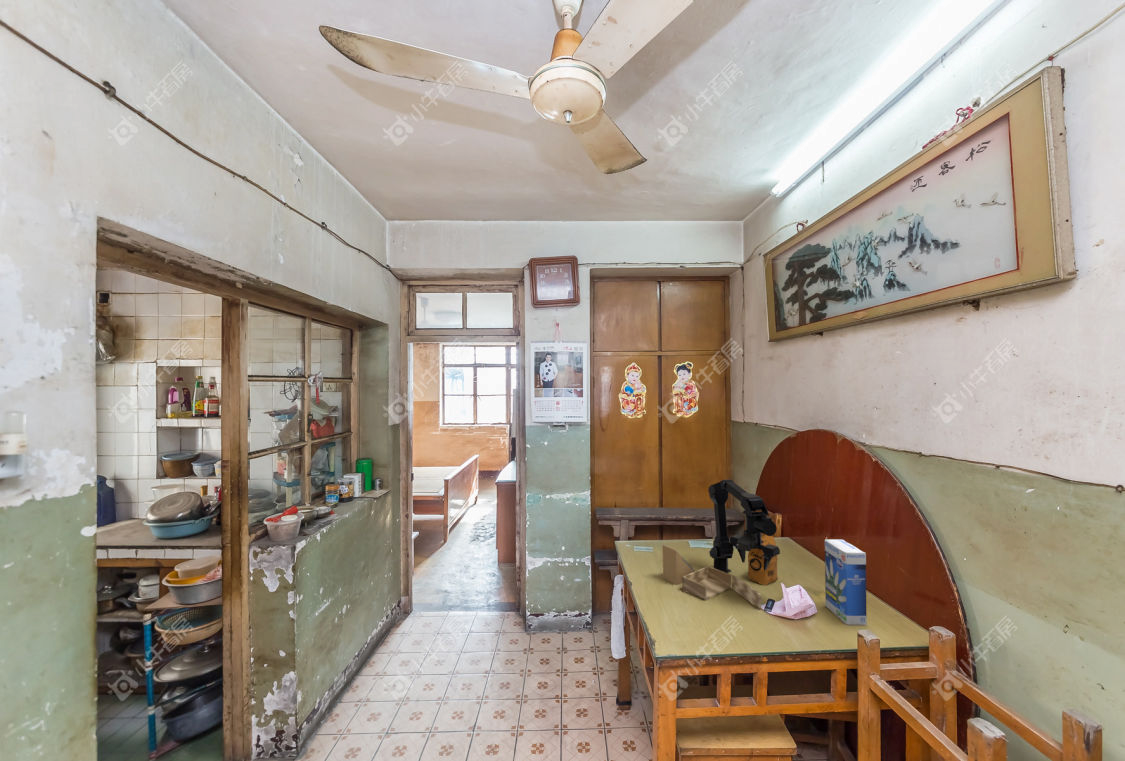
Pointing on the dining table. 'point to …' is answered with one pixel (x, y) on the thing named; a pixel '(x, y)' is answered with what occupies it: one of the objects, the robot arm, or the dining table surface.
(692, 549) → the dining table surface
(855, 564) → the string lights box
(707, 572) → the carton
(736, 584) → the flap
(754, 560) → the coffee package
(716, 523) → the robot arm
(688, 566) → the sandwich container
